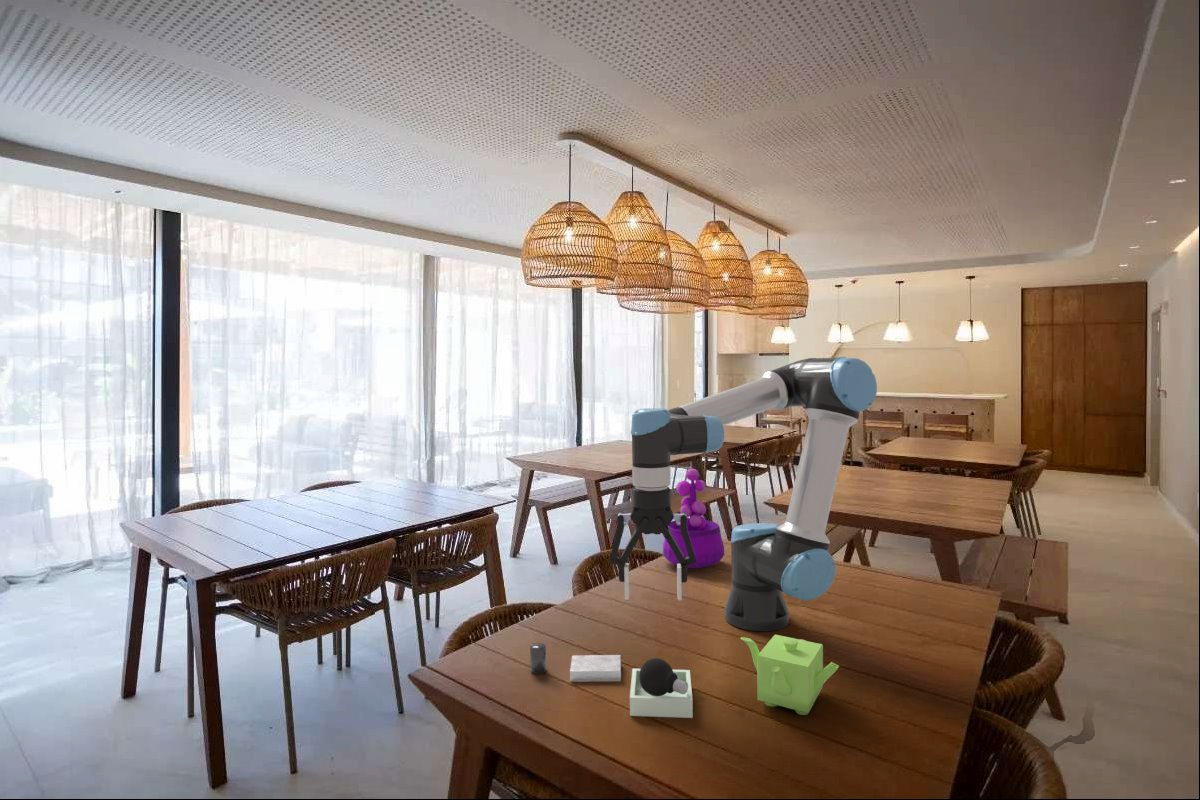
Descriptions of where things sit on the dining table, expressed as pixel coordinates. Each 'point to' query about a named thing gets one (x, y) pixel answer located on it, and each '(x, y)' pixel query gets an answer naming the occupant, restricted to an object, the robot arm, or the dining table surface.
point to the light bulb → (660, 678)
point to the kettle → (790, 672)
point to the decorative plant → (695, 527)
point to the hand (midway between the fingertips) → (653, 597)
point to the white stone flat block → (595, 668)
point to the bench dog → (538, 658)
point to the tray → (661, 699)
